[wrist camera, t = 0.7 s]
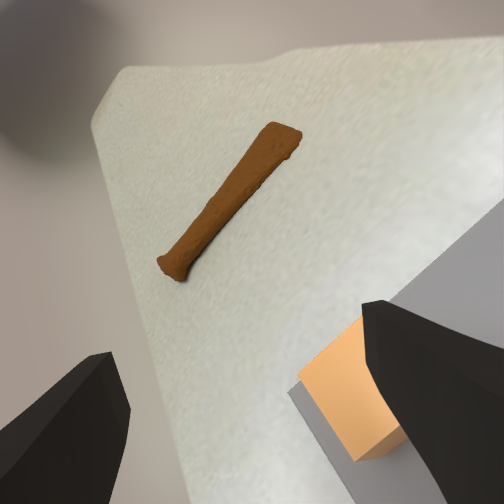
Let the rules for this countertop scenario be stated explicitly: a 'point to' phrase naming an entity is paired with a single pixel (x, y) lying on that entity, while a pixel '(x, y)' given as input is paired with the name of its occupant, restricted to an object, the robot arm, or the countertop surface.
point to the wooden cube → (352, 397)
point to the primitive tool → (231, 195)
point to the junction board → (441, 312)
